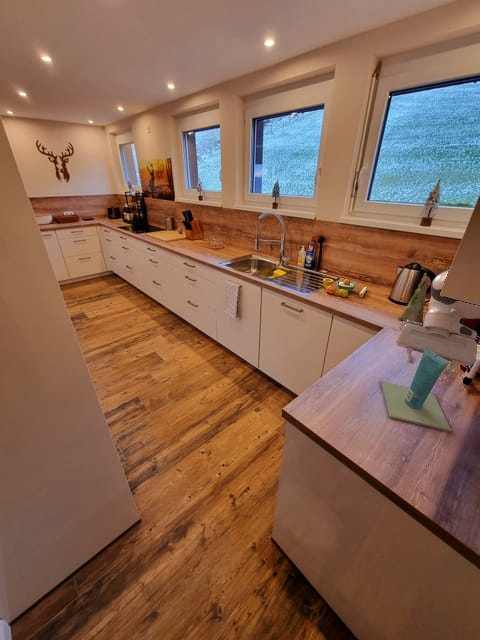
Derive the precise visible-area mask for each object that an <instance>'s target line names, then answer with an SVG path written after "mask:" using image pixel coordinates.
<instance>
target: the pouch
mask: <svg viewBox="0 0 480 640" xmlns="http://www.w3.org/2000/svg"><path fill="white" fill-rule="evenodd" d="M428 284H429V283H428V273H427V272H425V273H423V276H422V278H421V279H420V281H419V283H418V284H417V288H416V289H415V291H414V293H413V295H412V297H411V299H410V301H409V302H408V304H407V305H406V307H405V309H404V310H403V312H402V313H401V315H400V317H399V320H400V321H407V320H411V321H413V322H419V323H423V322H424V311H425V302H426V296H427V290H428Z"/></svg>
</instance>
